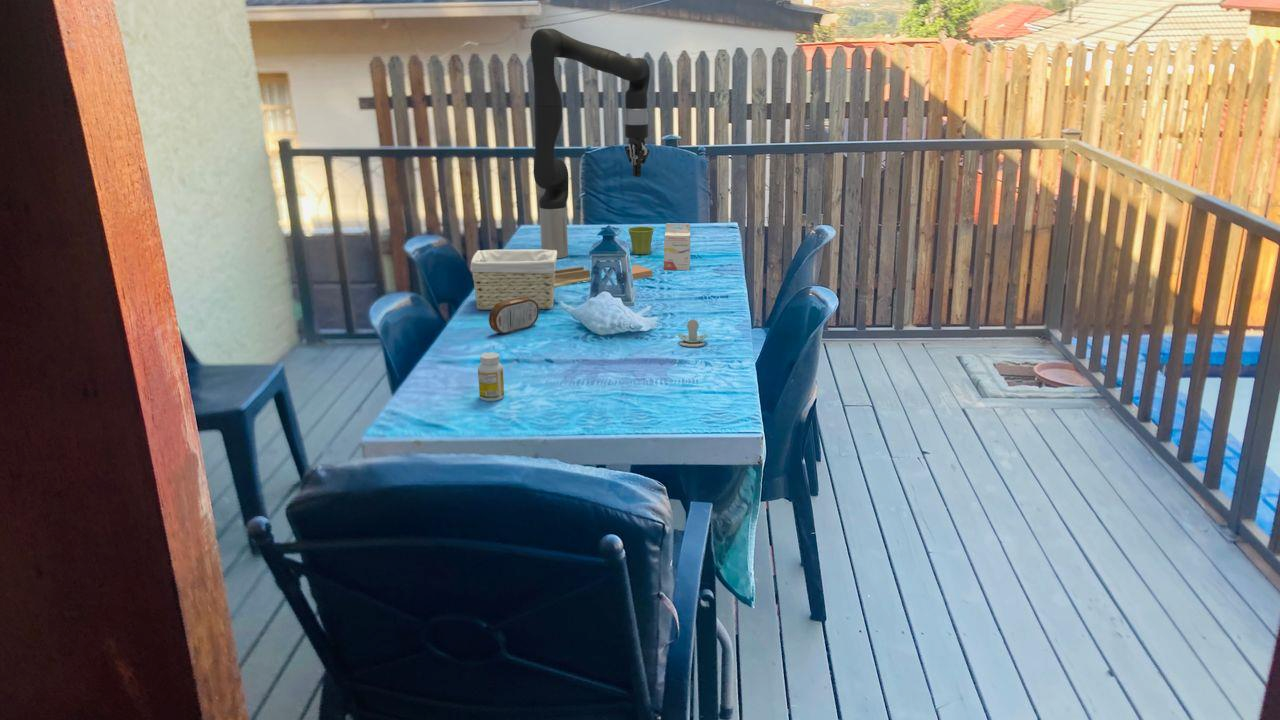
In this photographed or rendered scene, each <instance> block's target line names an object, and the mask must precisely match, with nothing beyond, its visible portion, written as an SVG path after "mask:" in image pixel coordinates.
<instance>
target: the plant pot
mask: <svg viewBox="0 0 1280 720" xmlns="http://www.w3.org/2000/svg"><path fill="white" fill-rule="evenodd" d="M654 231H655V228H654V227H652V226H634V227H629V228H627V232H628V233H629V234H628V235H630V243H631V249H632V254H634V255H636V254H641V256H642V255H649V254H651V248H652V240H653V239H652V238H653V235H654Z"/></svg>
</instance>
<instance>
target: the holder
mask: <svg viewBox="0 0 1280 720" xmlns="http://www.w3.org/2000/svg"><path fill="white" fill-rule="evenodd" d="M590 278H591V269H588V268H587V269H584V266H575V267H574V266H573V267H566V268H561V269H555V278H554V280H555V283H554V288H558V287H563V286H564V285H565V286H570V285H569V284H572V283H577V282H583V281H588V280H590ZM572 285H573V284H572ZM565 286H564V287H565Z"/></svg>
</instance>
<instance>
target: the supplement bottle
mask: <svg viewBox="0 0 1280 720" xmlns="http://www.w3.org/2000/svg"><path fill="white" fill-rule="evenodd" d="M479 358H480V364H479V365H478V366H477V375H478V377H477V378H478V391H479V399H481V400H482V401H485V402H496V401H500V400H502V399H503V398H504V397H505V389H504V387H505V386H504V384H505V383H504V367H503V365H502V364H501V363H500V354H498V353H497V352H486V353H482V354H481V355H480V356H479Z"/></svg>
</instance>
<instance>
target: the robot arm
mask: <svg viewBox="0 0 1280 720" xmlns="http://www.w3.org/2000/svg"><path fill="white" fill-rule="evenodd" d="M530 54H531V61H532V69H533V70H532V71H533V92H534V93H533V94H534V95H533V96H534V97H533V98H534V101H533V102H534V104H533V105H534V107H533V108H534V109H533V111H534V133H535V134H534V141H535V142H534V144H535V145H534V147H535V148H534V159H533V177H534V181H535V183H536V185H537V186H538V187H539V188H541V189H543V190H544V189H545V190H544V193H543V195H542V196H541V197H540V198H539V201H538V202H539V203H538V204H539V224H540V227H539V228H540V246H541V248H540V249H543V250H556V251H557V259H561V258H562V259H563V258H566V257H568V256H569V243H568V242H569V241H568V215H567V214H568V213H567V212H568V210H567V202H568V199H569V171H568V167H567V164H566V163H565V162H564V161H563V160H561V159H559V158H555V147H556V142H557V138H558V135H559V133H560V130H561V127H562V123H563V102H562V101H563V100H562V96H561V92H560V89H559V86H558V82H557V79H556V76H555V58H561V59H568V60H573V61H576V62H579V63H581V64H583V65H585V66H586V67H589V68H590V69H593V70H596V71H599V72H603V73H606V74H610V75H614V76H616V77H617V78H620V79H622V80H625V81H627V82H628V81H629V82H628V83H629V84H628V89H627V90H626V92H625V97H624V98H625V99H624V100H625V102H624V103H625V106H624V107H625V112H624V137H625V138H627V139H628V141H627V145H625V146H624V151H625V154H626V156H627V159H628V162H629V163H631V165H632V176H633V177H635V178H641V176H642V166H643V164H644V165H645V163H646V161H647V159H648V156H649V154H650V149H649V148H646V141H645V139H646V138H648V137H649V112H648V91H649V84H650V77H651V72H650V71H651V70H650V69H651V68H650V65H649V63H648V61H647V60H646V59H644V58H643V57H635V58H633V57H630V56H629V57H628V56H625V55H622V54H620V53H619V52H617V51H615V50H611V49H608V48H604V47H601V46H598V45H593V44H590V43H586V42H583V41H580V40H577V39H575V38H574V37H570V36H569V35H567V34H564V33H563V32H561V31H559V30H557V29H555V28H539V29H537V30H535V31H534V32H533V34H532V36H531V39H530Z"/></svg>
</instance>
